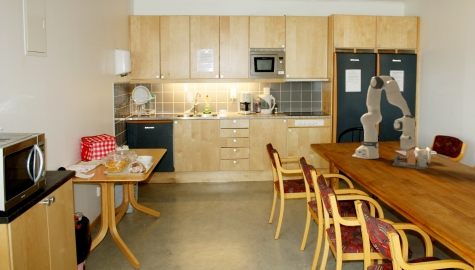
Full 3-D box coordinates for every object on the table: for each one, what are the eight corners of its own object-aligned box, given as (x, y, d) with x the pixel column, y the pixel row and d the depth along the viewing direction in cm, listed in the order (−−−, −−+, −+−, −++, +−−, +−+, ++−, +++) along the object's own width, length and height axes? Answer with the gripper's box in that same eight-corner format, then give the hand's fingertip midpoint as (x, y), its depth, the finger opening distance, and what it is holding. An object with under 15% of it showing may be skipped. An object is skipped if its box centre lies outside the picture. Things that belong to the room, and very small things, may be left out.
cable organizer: (430, 164, 354) (431, 150, 352) (416, 164, 357) (417, 149, 355) (427, 160, 368) (428, 147, 367) (414, 160, 371) (414, 146, 370)
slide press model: (392, 165, 353) (392, 156, 352) (397, 163, 360) (398, 154, 359) (423, 169, 337) (423, 160, 336) (428, 167, 344) (428, 158, 343)
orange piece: (405, 164, 345) (406, 150, 343) (411, 162, 353) (412, 148, 352) (413, 166, 340) (413, 151, 339) (419, 163, 349) (420, 149, 348)
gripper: (409, 134, 356) (409, 151, 358) (399, 137, 341) (398, 155, 343) (417, 135, 352) (417, 152, 354) (407, 138, 337) (406, 156, 339)
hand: (408, 153), depth 348 cm, fingers closed, pressing on orange piece
